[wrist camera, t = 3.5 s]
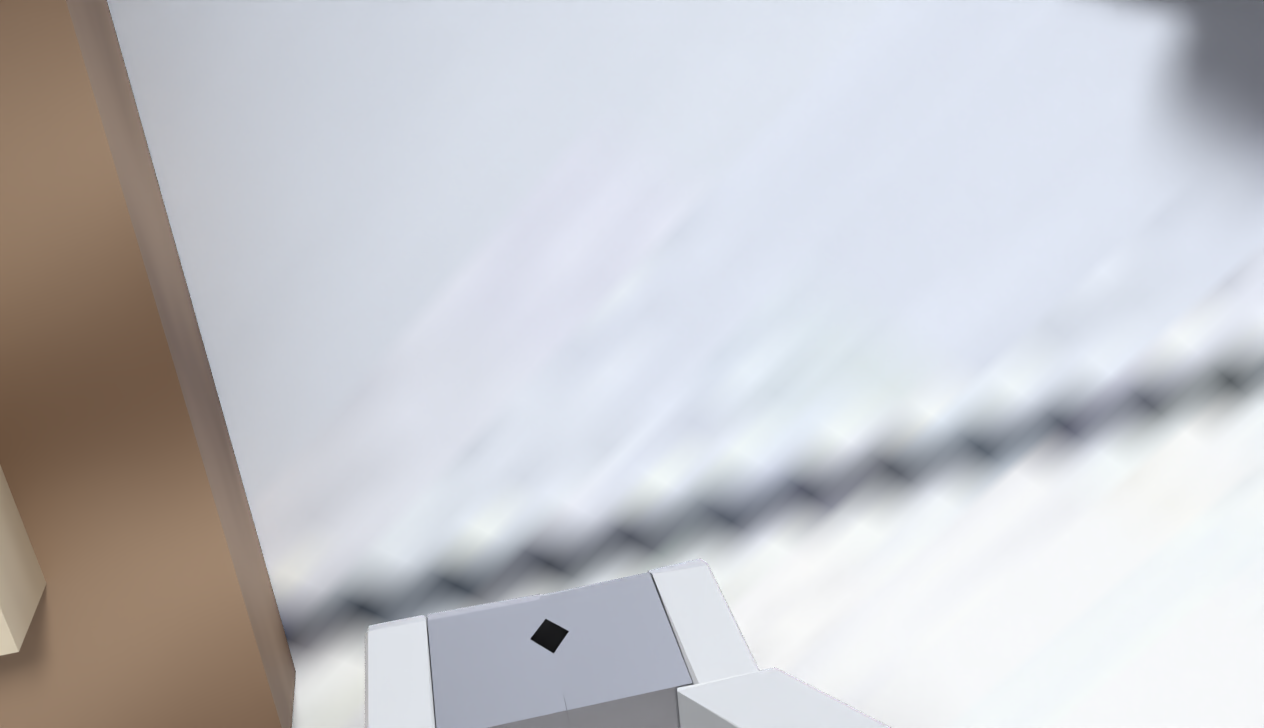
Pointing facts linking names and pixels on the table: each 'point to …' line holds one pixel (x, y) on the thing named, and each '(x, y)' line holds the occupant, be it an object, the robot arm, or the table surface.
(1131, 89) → the table surface
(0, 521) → the birch block
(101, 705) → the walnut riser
